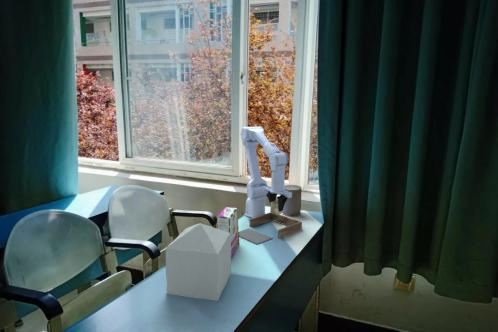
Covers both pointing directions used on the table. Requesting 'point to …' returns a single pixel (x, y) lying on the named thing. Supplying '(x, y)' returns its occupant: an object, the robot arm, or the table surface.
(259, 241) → the mat
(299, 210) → the pillar candle
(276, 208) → the birch block
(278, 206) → the robot arm
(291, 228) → the open wooden frame
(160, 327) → the table surface
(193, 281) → the decorative block
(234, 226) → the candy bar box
